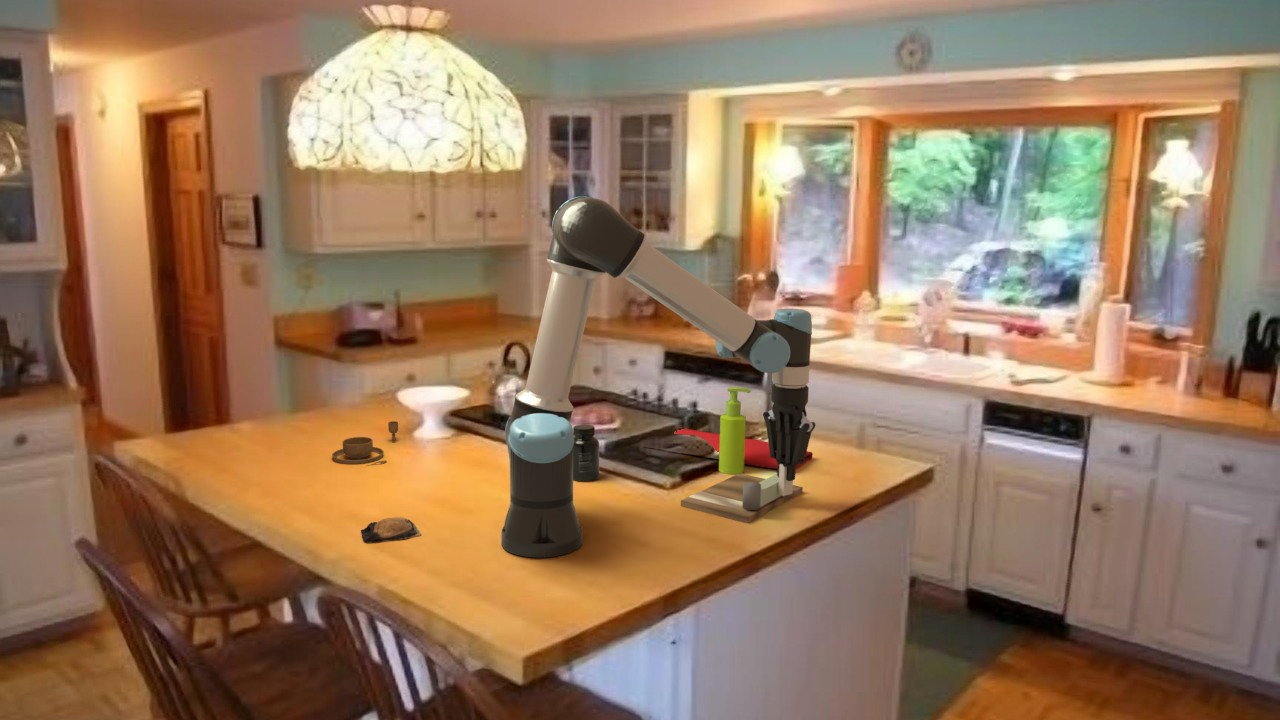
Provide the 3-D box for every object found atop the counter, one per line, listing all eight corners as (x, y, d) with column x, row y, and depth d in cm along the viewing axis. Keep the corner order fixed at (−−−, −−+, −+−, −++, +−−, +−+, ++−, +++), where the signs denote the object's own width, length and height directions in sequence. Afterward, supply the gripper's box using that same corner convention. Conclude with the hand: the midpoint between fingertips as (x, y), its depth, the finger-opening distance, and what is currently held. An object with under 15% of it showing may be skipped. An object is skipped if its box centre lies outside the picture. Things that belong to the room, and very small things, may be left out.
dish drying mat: (669, 435, 254) (669, 421, 253) (813, 460, 233) (814, 446, 232) (638, 448, 240) (638, 434, 240) (788, 476, 219) (788, 461, 219)
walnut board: (747, 523, 188) (747, 516, 188) (680, 505, 197) (680, 500, 197) (802, 492, 207) (802, 486, 207) (739, 478, 216) (739, 472, 216)
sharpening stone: (754, 511, 190) (755, 488, 190) (739, 507, 193) (739, 485, 192) (791, 491, 203) (792, 470, 202) (776, 488, 205) (777, 466, 204)
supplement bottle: (604, 475, 217) (604, 425, 215) (590, 484, 211) (590, 432, 209) (578, 471, 220) (578, 421, 218) (563, 479, 214) (563, 428, 211)
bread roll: (413, 525, 186) (413, 507, 186) (423, 540, 179) (422, 521, 178) (358, 533, 182) (357, 514, 181) (365, 548, 174) (364, 529, 174)
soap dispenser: (747, 475, 218) (750, 391, 215) (717, 473, 220) (719, 389, 216) (749, 468, 224) (752, 386, 220) (720, 466, 225) (722, 384, 222)
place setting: (319, 455, 231) (318, 432, 230) (395, 442, 244) (394, 420, 243) (349, 473, 218) (348, 448, 217) (427, 458, 231) (427, 434, 230)
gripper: (826, 387, 191) (820, 498, 195) (780, 376, 201) (775, 482, 206) (800, 392, 186) (795, 506, 191) (754, 380, 197) (750, 488, 201)
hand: (785, 493), depth 198 cm, fingers closed
